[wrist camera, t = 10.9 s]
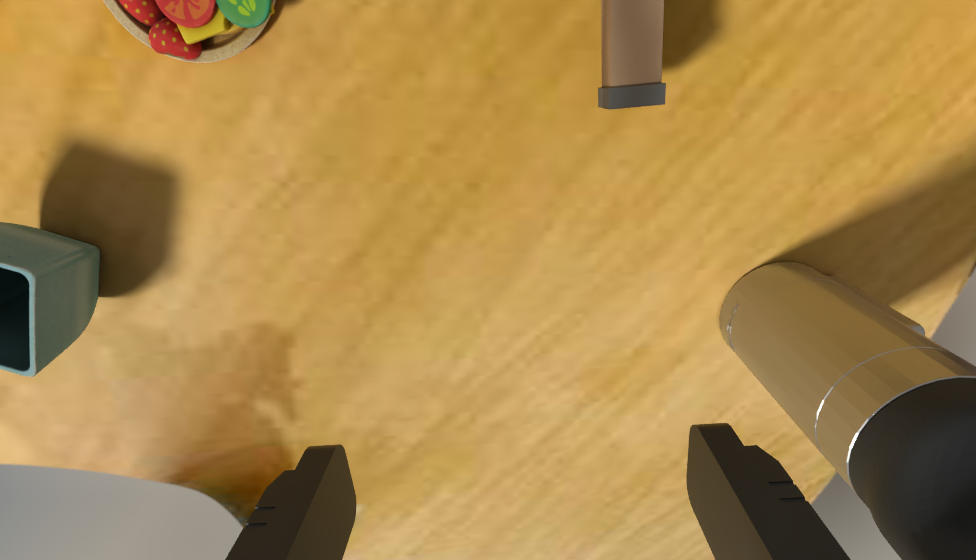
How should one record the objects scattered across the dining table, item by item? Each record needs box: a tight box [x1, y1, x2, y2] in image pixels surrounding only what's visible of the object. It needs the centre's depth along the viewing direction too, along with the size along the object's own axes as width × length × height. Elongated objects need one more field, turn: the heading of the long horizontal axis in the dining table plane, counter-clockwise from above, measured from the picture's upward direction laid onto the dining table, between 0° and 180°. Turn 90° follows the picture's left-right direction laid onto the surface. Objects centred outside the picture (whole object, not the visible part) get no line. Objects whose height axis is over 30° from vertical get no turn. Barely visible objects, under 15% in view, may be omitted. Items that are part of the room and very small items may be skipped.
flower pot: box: [0, 222, 100, 377], centre depth 39 cm, size 9×9×9 cm
